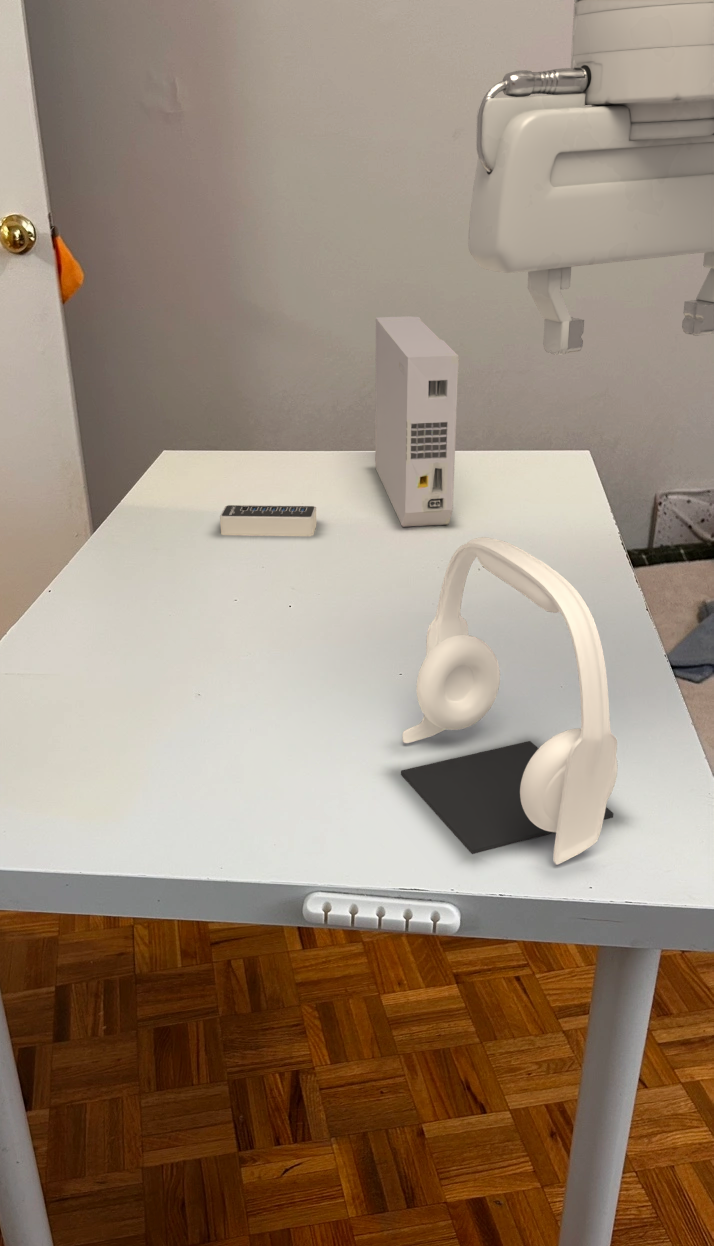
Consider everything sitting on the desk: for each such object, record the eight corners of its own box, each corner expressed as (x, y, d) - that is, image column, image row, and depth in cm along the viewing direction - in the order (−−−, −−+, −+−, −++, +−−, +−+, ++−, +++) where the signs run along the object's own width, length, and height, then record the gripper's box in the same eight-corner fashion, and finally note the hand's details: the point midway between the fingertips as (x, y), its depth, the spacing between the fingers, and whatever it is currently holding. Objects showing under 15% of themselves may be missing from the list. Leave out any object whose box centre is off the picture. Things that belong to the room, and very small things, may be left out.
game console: (416, 466, 153) (420, 315, 144) (454, 531, 129) (461, 355, 120) (375, 468, 153) (375, 317, 143) (404, 534, 129) (407, 357, 119)
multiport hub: (313, 536, 129) (312, 517, 128) (220, 535, 130) (219, 516, 129) (316, 524, 133) (316, 505, 132) (226, 523, 134) (225, 504, 133)
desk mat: (529, 745, 85) (530, 740, 85) (613, 817, 76) (613, 813, 76) (400, 774, 82) (400, 770, 82) (472, 854, 73) (472, 849, 73)
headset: (628, 855, 72) (663, 601, 63) (533, 881, 70) (556, 621, 61) (478, 720, 88) (490, 503, 80) (397, 738, 86) (401, 517, 78)
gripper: (512, 68, 51) (501, 373, 58) (858, 53, 57) (812, 331, 64) (449, 75, 57) (446, 354, 63) (772, 60, 63) (738, 317, 69)
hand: (633, 342), depth 64 cm, fingers open, 8 cm apart
